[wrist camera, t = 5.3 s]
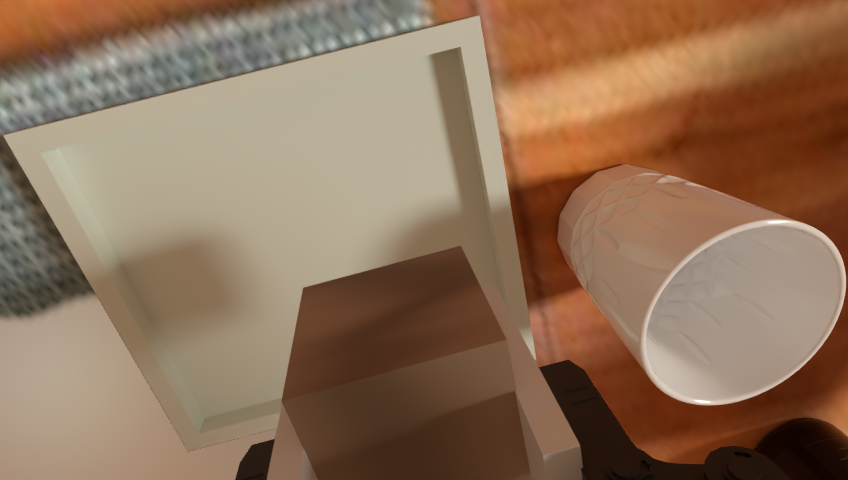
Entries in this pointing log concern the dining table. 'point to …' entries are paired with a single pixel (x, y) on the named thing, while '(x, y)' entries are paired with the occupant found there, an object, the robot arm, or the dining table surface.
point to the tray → (275, 207)
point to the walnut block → (404, 377)
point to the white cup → (701, 282)
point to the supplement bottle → (808, 450)
